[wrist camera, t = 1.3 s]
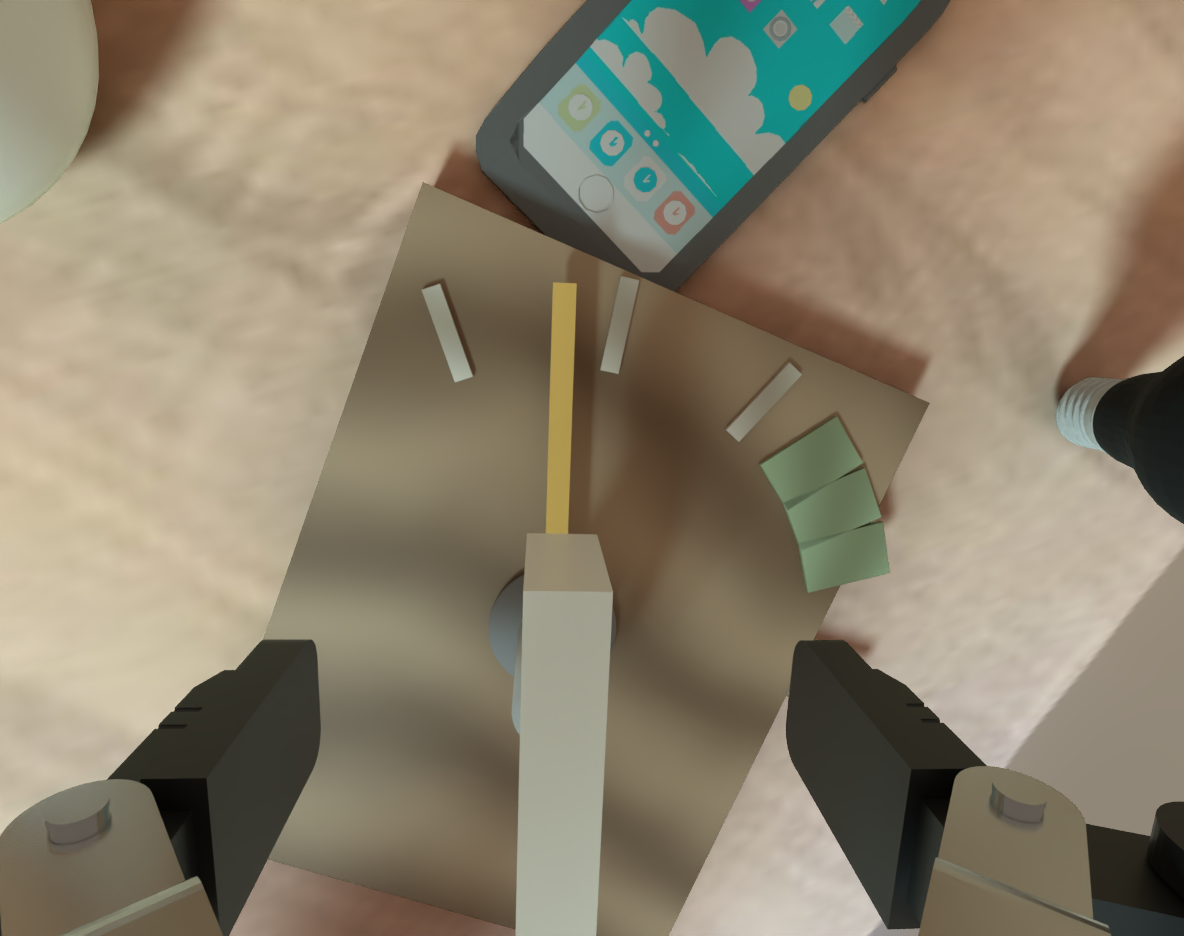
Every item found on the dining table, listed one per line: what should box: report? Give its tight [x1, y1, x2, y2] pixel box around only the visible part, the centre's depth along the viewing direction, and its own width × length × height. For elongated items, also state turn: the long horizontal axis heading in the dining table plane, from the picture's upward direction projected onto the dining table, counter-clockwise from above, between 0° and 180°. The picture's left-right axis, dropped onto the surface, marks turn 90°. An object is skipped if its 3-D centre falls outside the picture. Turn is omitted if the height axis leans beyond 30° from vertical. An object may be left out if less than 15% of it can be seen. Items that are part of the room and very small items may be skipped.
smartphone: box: [476, 0, 950, 292], centre depth 22 cm, size 9×1×15 cm
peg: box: [512, 282, 613, 936], centre depth 18 cm, size 16×2×9 cm, turn 178°
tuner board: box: [263, 182, 929, 936], centre depth 25 cm, size 24×21×2 cm
